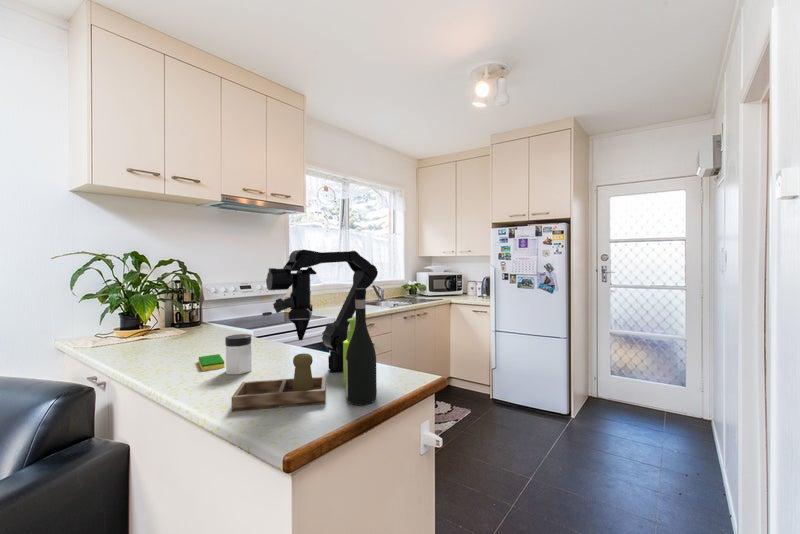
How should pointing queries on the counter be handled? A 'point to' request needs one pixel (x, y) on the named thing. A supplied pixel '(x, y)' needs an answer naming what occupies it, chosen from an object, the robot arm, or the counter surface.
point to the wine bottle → (361, 358)
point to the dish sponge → (211, 362)
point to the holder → (277, 394)
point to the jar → (238, 354)
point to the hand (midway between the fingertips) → (301, 337)
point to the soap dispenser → (347, 344)
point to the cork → (302, 373)
